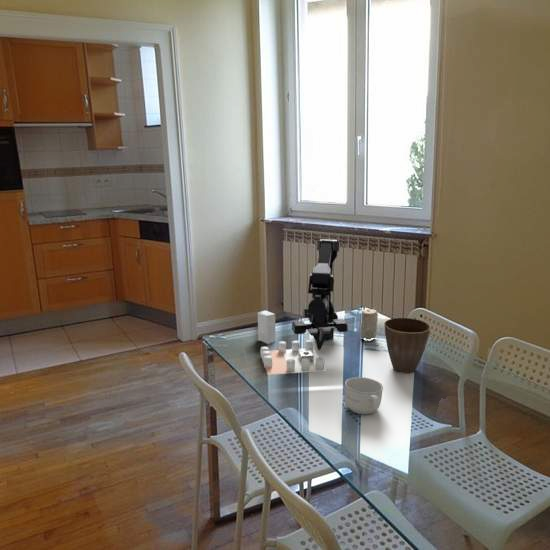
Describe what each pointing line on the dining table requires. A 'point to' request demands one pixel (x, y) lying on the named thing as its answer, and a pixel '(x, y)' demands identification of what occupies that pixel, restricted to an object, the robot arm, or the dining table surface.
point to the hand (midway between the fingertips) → (318, 349)
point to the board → (290, 359)
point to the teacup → (363, 394)
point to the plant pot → (406, 342)
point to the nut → (306, 355)
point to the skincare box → (266, 327)
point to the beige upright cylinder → (368, 324)
